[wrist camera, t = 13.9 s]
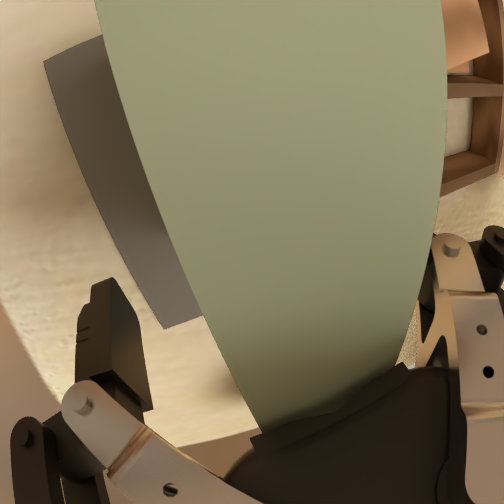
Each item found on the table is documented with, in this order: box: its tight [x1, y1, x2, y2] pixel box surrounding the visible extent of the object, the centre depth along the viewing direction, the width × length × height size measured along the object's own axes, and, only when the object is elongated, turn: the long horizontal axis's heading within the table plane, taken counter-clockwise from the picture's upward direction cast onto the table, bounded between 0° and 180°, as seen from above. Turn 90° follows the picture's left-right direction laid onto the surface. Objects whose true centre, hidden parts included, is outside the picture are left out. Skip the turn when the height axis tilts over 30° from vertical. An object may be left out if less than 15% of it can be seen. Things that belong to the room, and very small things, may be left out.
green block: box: [94, 0, 447, 433], centre depth 9 cm, size 3×10×12 cm, turn 10°
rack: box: [439, 0, 504, 197], centre depth 14 cm, size 17×19×3 cm
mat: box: [43, 35, 203, 329], centre depth 15 cm, size 17×10×1 cm, turn 10°
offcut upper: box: [440, 0, 489, 70], centre depth 12 cm, size 4×9×2 cm, turn 115°
